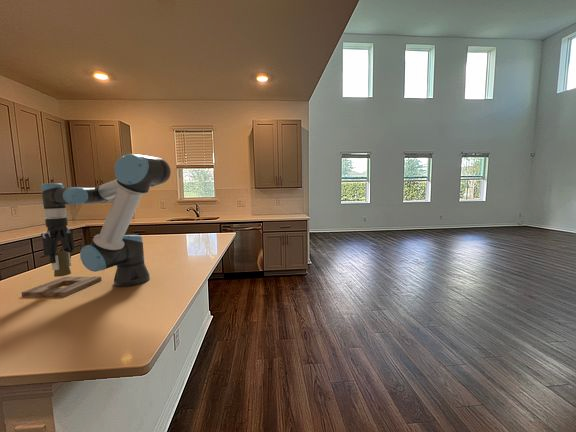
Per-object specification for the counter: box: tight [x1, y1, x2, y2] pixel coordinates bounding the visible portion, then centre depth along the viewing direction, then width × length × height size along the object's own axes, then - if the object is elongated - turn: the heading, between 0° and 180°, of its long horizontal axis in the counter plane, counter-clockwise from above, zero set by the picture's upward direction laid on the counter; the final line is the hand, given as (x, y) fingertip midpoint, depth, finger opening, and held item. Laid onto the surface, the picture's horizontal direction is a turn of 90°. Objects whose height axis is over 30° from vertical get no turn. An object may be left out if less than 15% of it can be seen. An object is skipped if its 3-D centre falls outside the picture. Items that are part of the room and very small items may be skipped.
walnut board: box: [21, 276, 103, 298], centre depth 123 cm, size 20×20×2 cm
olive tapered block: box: [53, 250, 72, 278], centre depth 122 cm, size 6×6×11 cm
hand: (62, 267), depth 122 cm, fingers closed on olive tapered block, 5 cm apart
